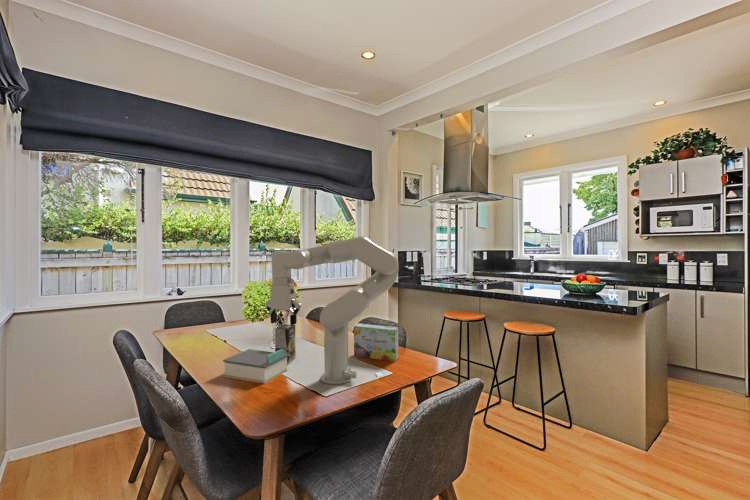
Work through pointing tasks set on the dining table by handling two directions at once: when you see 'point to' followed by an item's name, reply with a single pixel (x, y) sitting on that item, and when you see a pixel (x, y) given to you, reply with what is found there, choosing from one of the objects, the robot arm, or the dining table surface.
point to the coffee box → (286, 341)
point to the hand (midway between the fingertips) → (283, 323)
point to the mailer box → (255, 371)
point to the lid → (257, 358)
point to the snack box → (376, 342)
